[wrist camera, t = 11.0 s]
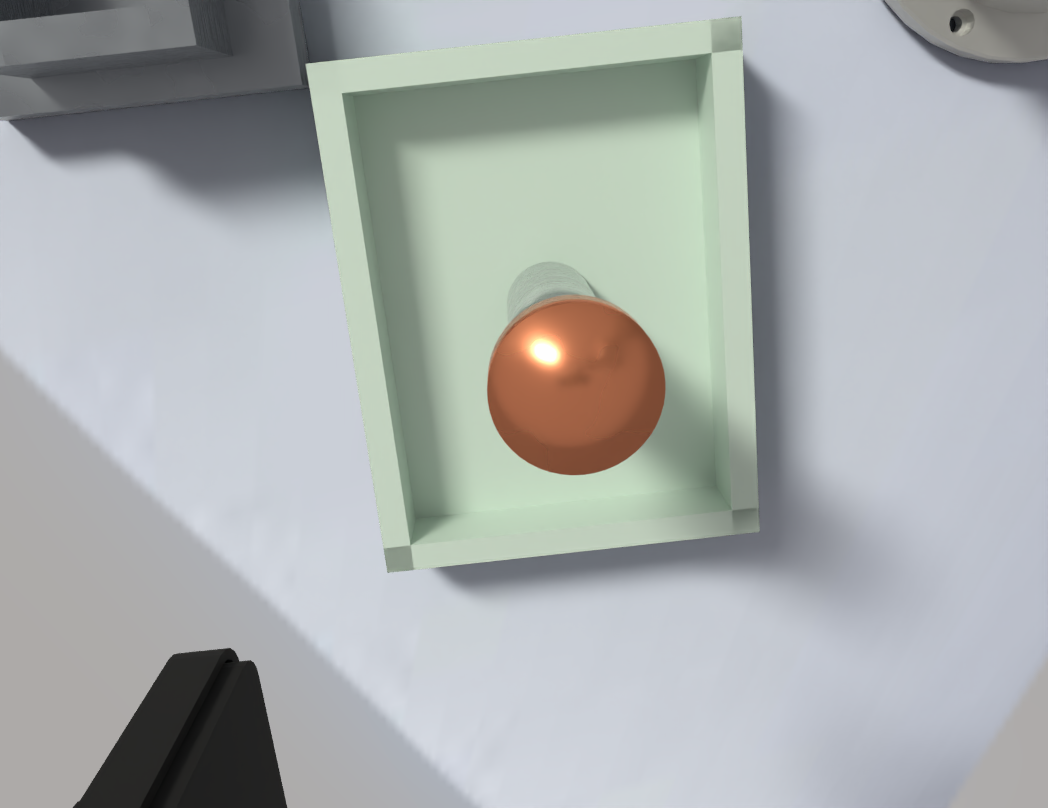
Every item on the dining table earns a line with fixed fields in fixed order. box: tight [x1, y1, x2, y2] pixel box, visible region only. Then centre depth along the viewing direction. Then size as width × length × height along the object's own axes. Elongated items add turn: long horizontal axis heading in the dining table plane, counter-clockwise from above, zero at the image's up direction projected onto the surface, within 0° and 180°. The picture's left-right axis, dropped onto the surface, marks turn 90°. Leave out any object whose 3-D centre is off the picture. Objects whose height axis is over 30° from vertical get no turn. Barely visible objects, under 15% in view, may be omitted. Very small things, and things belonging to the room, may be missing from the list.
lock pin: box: [487, 262, 665, 475], centre depth 29 cm, size 4×4×12 cm
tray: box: [306, 16, 760, 573], centre depth 34 cm, size 14×18×4 cm
